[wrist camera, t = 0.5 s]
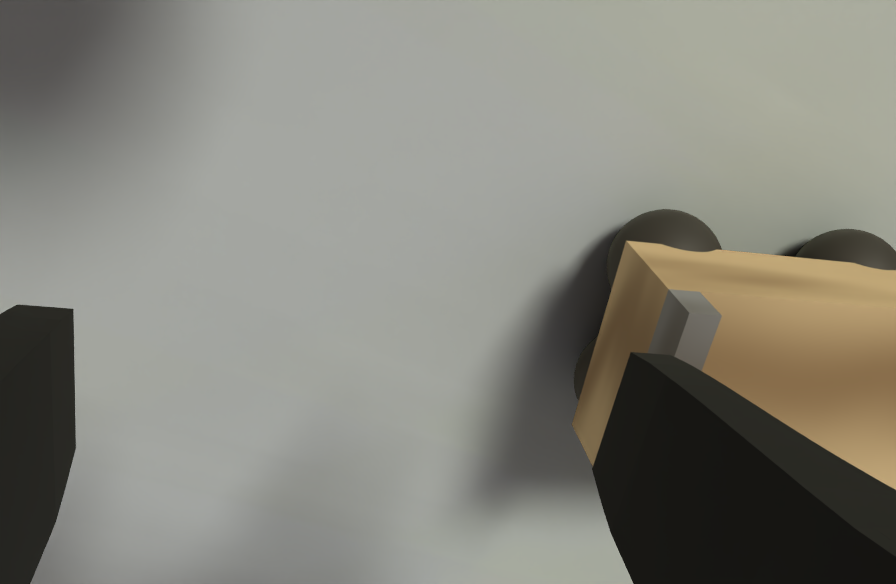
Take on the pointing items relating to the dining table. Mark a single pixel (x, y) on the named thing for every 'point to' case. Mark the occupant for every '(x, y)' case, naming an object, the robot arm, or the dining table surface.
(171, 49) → the dining table surface
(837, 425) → the trolley
